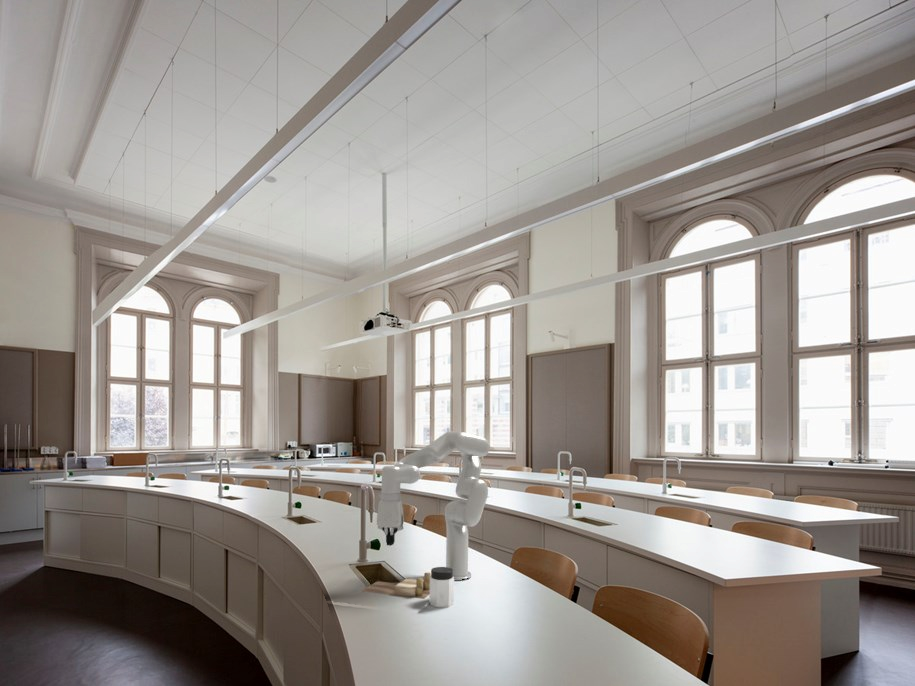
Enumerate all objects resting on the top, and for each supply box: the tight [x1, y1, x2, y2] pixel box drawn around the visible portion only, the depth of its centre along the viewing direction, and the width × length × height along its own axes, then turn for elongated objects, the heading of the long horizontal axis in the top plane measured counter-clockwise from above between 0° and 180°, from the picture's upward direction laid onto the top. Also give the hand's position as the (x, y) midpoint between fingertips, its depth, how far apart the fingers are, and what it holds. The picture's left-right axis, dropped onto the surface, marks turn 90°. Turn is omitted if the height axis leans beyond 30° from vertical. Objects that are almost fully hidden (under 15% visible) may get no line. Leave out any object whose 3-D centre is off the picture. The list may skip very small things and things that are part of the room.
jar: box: [428, 566, 455, 608], centre depth 202 cm, size 9×8×12 cm
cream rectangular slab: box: [395, 577, 424, 598], centre depth 213 cm, size 12×8×3 cm, turn 162°
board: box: [361, 572, 431, 600], centre depth 215 cm, size 14×26×7 cm, turn 72°
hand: (390, 544), depth 219 cm, fingers closed
